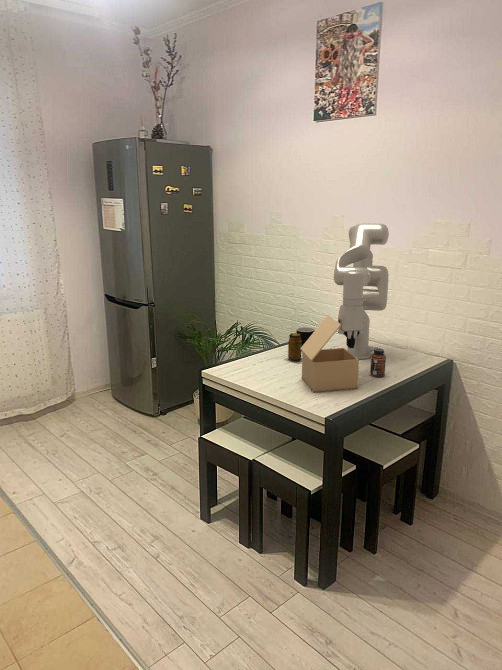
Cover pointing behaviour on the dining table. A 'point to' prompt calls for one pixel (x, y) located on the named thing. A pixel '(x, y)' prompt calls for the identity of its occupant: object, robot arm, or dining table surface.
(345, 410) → the dining table surface
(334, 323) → the lid flap
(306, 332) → the mug
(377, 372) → the supplement bottle
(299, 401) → the dining table surface
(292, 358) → the condiment
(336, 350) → the carton
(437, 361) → the dining table surface
